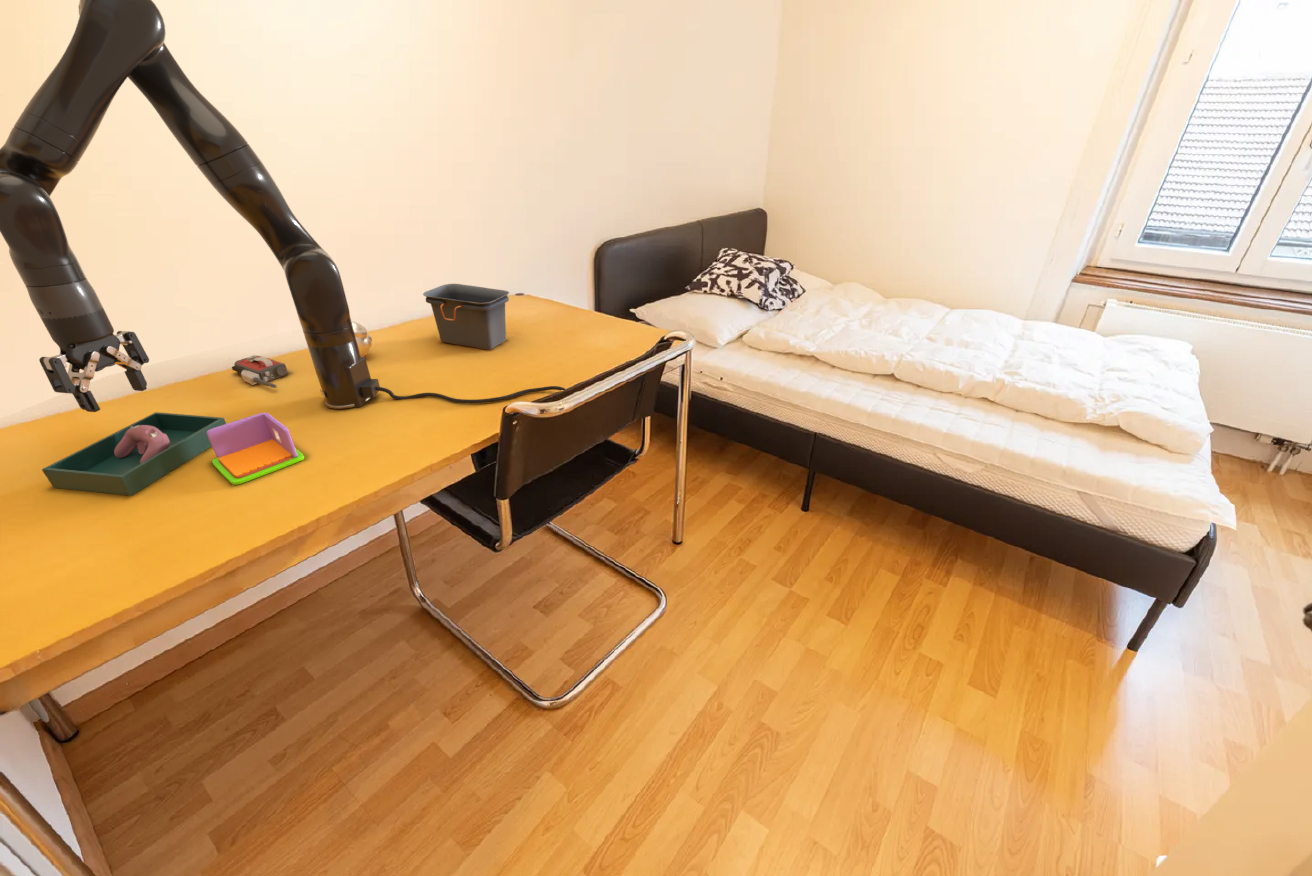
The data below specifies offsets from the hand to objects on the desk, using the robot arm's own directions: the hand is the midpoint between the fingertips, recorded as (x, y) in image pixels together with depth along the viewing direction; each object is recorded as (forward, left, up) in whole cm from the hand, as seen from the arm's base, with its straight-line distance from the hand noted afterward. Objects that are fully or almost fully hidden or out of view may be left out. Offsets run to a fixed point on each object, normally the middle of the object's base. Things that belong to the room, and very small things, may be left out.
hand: (118, 400), depth 98 cm
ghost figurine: (-9, -52, -12) cm, 54 cm away
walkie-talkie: (+5, -37, -12) cm, 39 cm away
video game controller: (0, 0, -12) cm, 12 cm away
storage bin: (-34, -68, -12) cm, 76 cm away
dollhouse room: (-21, -3, -12) cm, 24 cm away
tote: (0, 0, -12) cm, 12 cm away
